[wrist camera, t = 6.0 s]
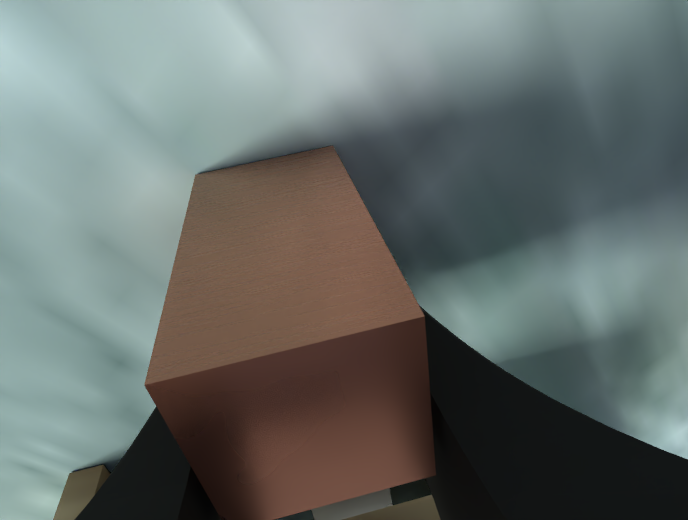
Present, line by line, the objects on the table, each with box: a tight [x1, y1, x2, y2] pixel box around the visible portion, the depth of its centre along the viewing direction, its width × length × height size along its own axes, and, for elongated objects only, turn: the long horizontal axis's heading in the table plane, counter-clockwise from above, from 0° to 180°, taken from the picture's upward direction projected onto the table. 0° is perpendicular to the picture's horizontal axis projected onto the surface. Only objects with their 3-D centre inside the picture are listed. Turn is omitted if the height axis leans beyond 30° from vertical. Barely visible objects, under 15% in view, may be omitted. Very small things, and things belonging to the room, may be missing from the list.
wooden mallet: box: [145, 146, 436, 520], centre depth 12 cm, size 3×17×6 cm, turn 9°
